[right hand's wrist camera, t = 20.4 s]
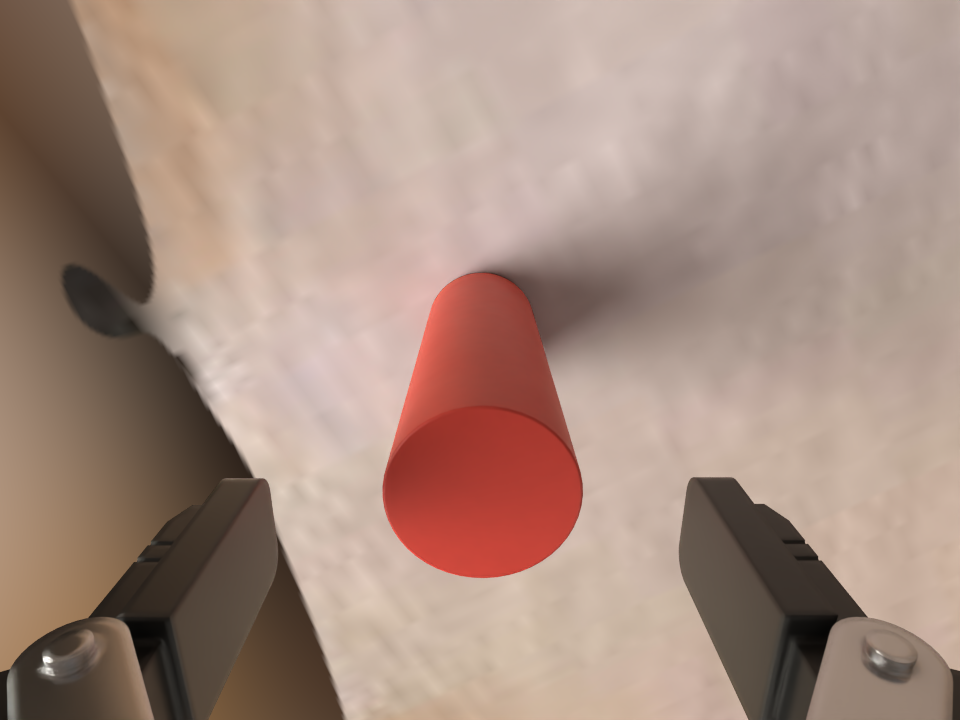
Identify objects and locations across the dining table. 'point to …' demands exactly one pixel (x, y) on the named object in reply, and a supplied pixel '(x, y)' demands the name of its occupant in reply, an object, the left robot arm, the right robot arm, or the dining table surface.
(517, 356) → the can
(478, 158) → the dining table surface
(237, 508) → the right robot arm
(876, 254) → the dining table surface
